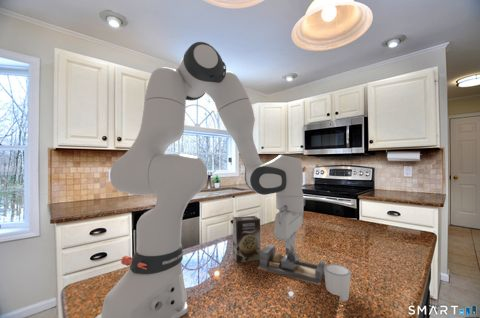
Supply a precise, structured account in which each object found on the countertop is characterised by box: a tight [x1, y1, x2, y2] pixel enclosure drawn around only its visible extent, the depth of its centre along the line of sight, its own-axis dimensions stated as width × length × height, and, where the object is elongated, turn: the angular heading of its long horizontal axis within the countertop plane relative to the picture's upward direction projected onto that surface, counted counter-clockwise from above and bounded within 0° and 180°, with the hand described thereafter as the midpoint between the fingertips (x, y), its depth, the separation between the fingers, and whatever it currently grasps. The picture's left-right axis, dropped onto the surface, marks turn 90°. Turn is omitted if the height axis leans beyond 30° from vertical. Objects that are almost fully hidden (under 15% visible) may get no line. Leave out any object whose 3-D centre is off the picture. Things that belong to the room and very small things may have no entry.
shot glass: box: [324, 263, 352, 302], centre depth 61 cm, size 7×7×7 cm
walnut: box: [272, 252, 284, 266], centre depth 75 cm, size 4×4×4 cm
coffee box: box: [232, 215, 261, 263], centre depth 81 cm, size 9×6×16 cm
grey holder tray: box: [256, 243, 326, 286], centre depth 73 cm, size 11×20×6 cm, turn 60°
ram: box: [281, 233, 300, 273], centre depth 73 cm, size 7×4×12 cm, turn 150°
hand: (290, 245), depth 73 cm, fingers closed on ram, 3 cm apart
